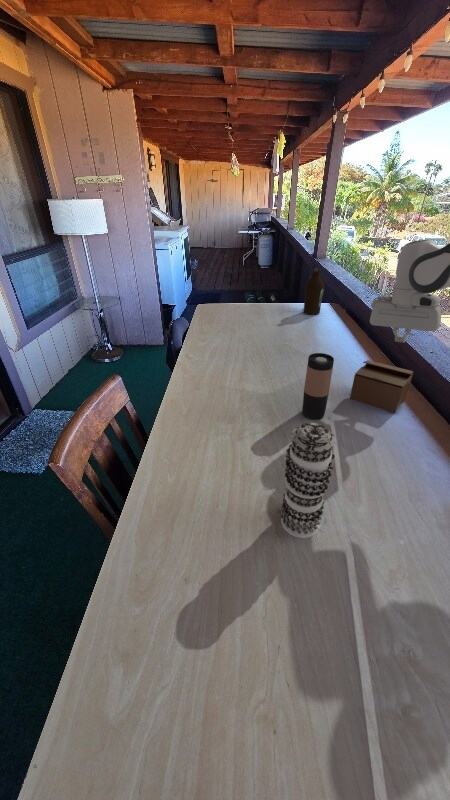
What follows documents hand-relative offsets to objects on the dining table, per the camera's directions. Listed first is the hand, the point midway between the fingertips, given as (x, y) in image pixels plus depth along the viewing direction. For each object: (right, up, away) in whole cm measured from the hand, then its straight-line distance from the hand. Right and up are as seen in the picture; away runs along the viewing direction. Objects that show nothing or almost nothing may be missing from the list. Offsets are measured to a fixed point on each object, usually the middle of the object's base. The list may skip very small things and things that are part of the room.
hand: (399, 341), depth 113 cm
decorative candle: (-40, -46, -36) cm, 71 cm away
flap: (-2, -8, +4) cm, 9 cm away
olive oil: (-5, +33, +95) cm, 101 cm away
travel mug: (-28, -24, +1) cm, 37 cm away
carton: (-4, -19, +8) cm, 21 cm away
